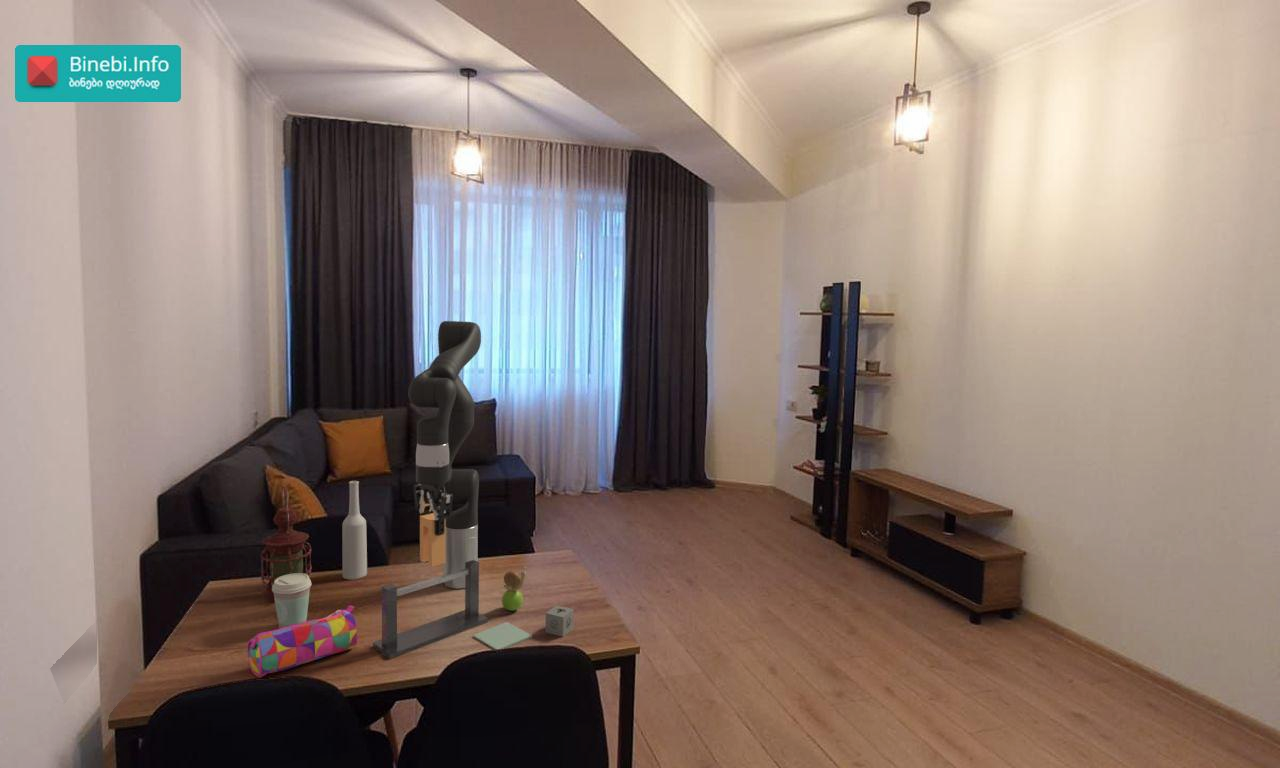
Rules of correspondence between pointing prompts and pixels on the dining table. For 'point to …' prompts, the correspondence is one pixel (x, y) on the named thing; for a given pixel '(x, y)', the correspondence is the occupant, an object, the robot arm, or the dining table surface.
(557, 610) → the dice cube
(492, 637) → the felt mat
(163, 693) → the dining table surface
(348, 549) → the bottle
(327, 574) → the dining table surface
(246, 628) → the dining table surface
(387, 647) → the rail stand
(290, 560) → the lantern
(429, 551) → the c link
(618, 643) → the dining table surface
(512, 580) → the snail figurine
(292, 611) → the coffee cup
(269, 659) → the pencil case
